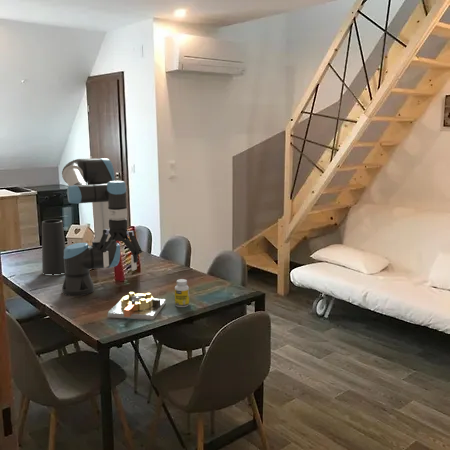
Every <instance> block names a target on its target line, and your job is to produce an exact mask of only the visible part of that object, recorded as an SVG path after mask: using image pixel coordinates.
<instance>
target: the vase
mask: <svg viewBox="0 0 450 450" xmlns="http://www.w3.org/2000/svg"><path fill="white" fill-rule="evenodd" d="M66 247H67V246H66V239H65V232H64V224H63V220H62V219H46V220H43V221H41V253H42V255H41V256H42V257H41V260H42V269H41V271H42V274H43V273H44V274H52V275H54V274H61V273H65V264H64V249H65V248H66Z"/></svg>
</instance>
